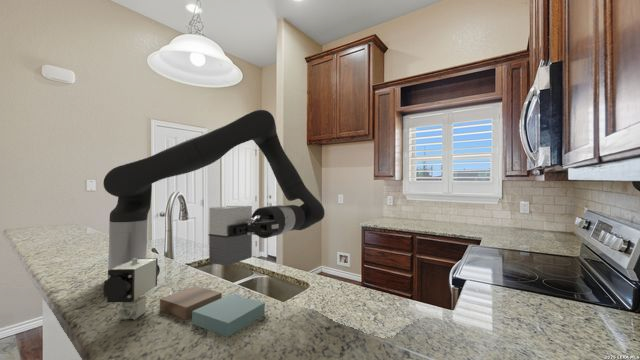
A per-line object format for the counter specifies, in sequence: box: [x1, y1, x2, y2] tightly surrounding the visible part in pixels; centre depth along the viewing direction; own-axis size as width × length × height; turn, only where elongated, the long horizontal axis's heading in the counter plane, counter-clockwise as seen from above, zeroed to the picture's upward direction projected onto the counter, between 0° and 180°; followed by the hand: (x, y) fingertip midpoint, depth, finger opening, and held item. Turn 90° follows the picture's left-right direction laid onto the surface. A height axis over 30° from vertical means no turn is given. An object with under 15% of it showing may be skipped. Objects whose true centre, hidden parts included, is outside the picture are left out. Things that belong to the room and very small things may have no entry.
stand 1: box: [159, 285, 222, 321], centre depth 61 cm, size 9×9×2 cm
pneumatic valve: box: [102, 257, 161, 321], centre depth 57 cm, size 6×12×12 cm, turn 3°
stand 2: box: [191, 293, 266, 338], centre depth 56 cm, size 10×10×2 cm
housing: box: [208, 204, 253, 267], centre depth 56 cm, size 5×7×11 cm
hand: (221, 230), depth 54 cm, fingers closed on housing, 5 cm apart
